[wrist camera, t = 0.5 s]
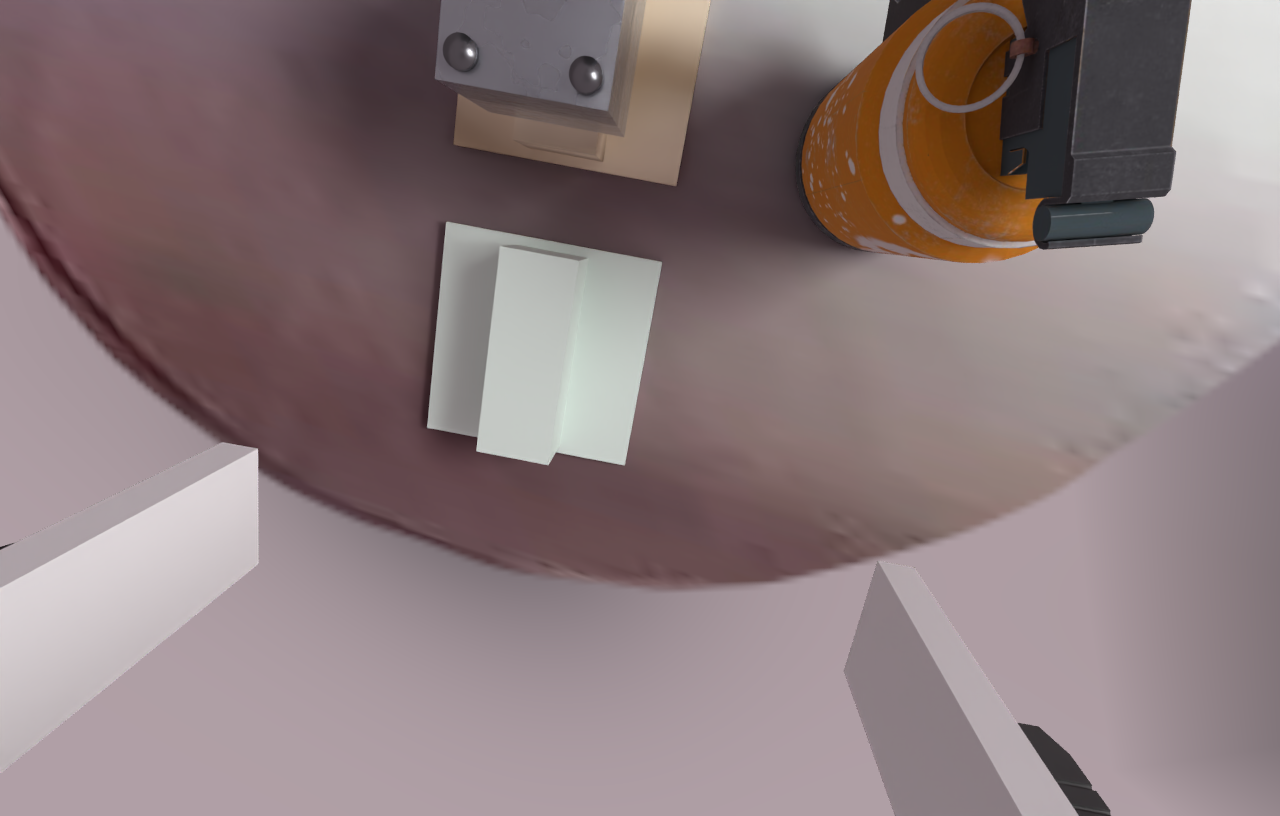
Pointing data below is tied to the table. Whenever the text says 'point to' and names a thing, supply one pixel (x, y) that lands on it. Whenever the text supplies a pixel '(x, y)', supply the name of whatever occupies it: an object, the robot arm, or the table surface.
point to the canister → (999, 129)
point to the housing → (543, 58)
